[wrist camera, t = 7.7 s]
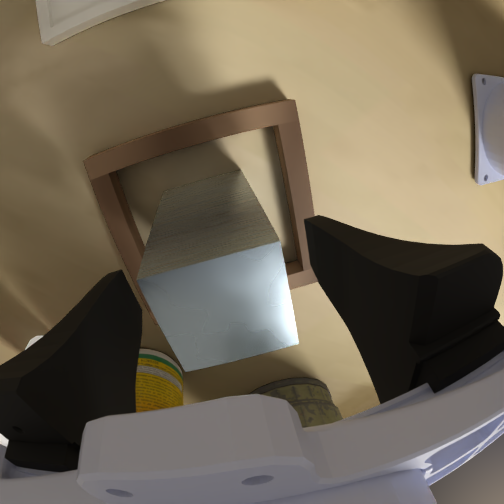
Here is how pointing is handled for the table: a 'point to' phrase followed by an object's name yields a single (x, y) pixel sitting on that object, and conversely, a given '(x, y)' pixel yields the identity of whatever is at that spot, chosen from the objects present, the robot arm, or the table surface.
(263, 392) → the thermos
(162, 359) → the supplement bottle
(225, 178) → the brushed metal block
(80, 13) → the tray
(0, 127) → the table surface
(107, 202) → the socket
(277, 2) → the table surface
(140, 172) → the table surface
